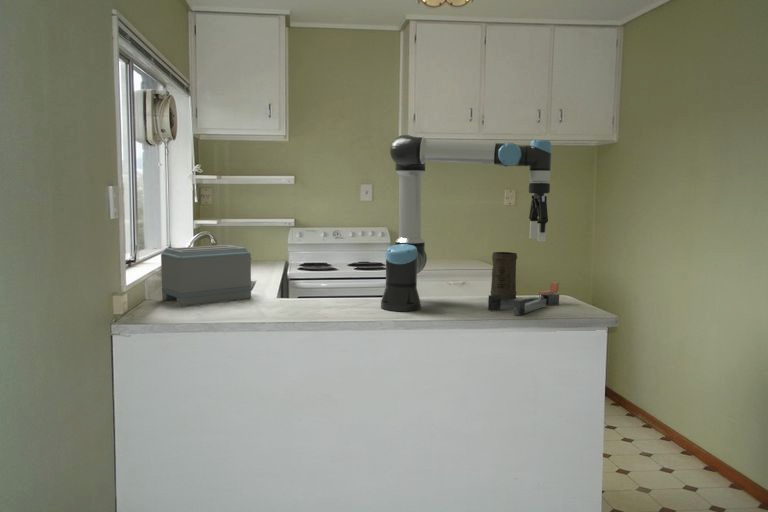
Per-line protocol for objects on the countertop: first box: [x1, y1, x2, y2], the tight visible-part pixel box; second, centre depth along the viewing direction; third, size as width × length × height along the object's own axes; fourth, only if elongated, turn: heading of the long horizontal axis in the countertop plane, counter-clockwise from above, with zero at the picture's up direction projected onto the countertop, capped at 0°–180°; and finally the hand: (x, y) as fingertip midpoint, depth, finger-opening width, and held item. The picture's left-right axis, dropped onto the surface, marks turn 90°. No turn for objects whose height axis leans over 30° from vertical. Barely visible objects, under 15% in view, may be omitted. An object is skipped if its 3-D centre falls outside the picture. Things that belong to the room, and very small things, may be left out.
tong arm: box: [513, 298, 547, 316], centre depth 236 cm, size 23×2×5 cm, turn 142°
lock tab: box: [538, 281, 560, 294], centre depth 249 cm, size 8×3×4 cm, turn 122°
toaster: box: [160, 244, 252, 308], centre depth 250 cm, size 19×33×20 cm, turn 132°
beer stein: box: [490, 251, 518, 301], centre depth 257 cm, size 15×11×20 cm
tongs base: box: [487, 293, 560, 312], centre depth 243 cm, size 32×5×6 cm, turn 122°
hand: (537, 239), depth 235 cm, fingers open, 13 cm apart
